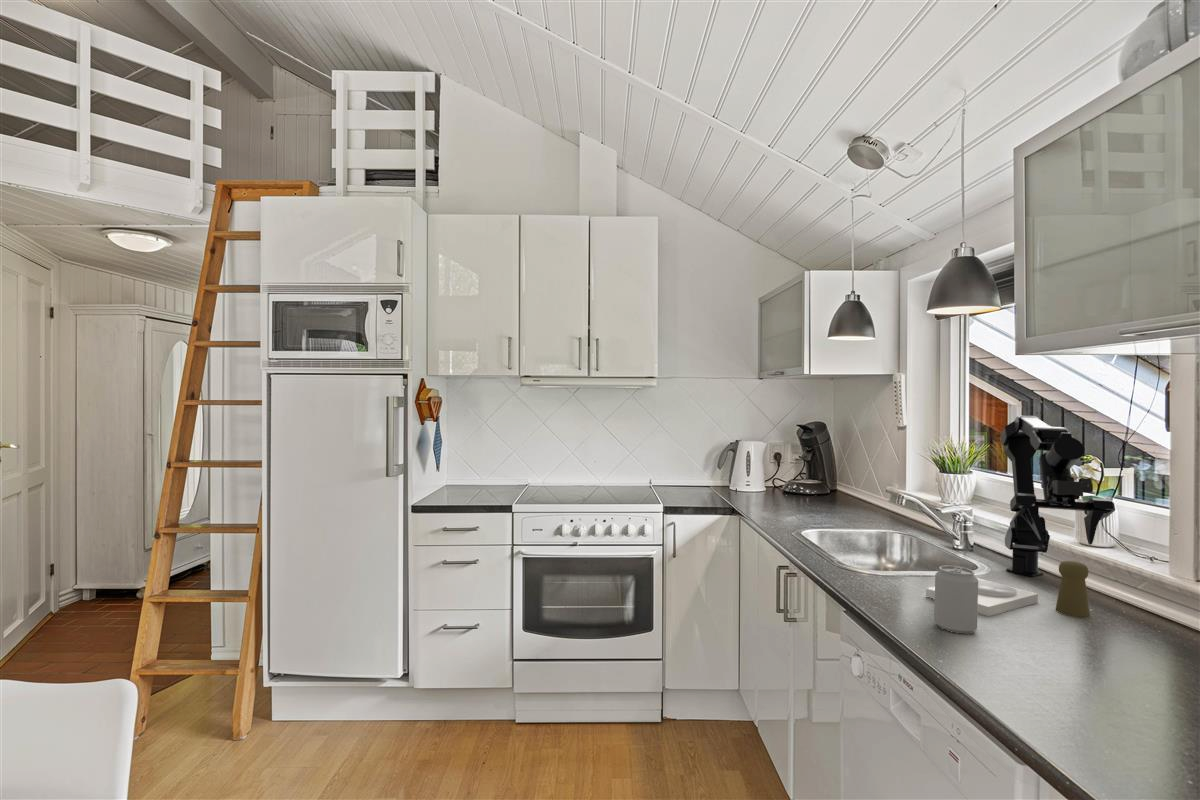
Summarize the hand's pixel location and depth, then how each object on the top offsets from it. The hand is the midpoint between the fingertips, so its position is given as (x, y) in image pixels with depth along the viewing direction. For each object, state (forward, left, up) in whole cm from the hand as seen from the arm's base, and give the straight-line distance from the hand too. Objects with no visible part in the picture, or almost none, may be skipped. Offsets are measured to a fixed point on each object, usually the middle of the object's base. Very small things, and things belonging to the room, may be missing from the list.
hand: (1065, 542), depth 139 cm
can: (+36, -3, -15) cm, 39 cm away
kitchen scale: (+12, -11, -14) cm, 22 cm away
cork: (+3, +3, -15) cm, 15 cm away
